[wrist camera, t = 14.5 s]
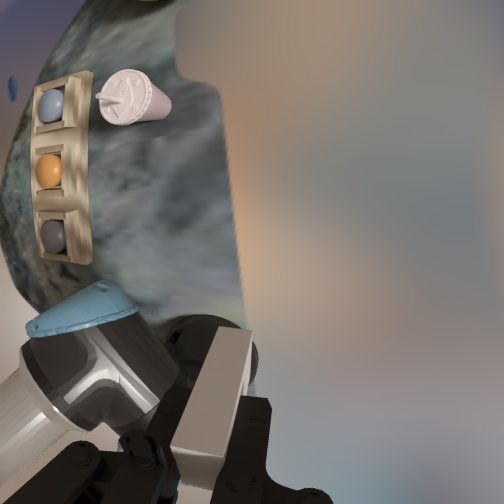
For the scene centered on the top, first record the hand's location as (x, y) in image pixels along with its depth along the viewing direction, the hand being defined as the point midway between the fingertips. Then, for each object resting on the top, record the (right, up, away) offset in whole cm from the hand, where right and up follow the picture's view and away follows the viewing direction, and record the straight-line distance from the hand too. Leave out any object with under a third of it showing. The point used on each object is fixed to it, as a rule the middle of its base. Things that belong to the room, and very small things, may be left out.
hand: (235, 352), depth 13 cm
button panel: (-30, +18, +26) cm, 43 cm away
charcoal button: (-29, +7, +26) cm, 40 cm away
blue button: (-28, +26, +20) cm, 44 cm away
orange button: (-29, +17, +23) cm, 41 cm away
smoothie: (-12, +24, +22) cm, 34 cm away
